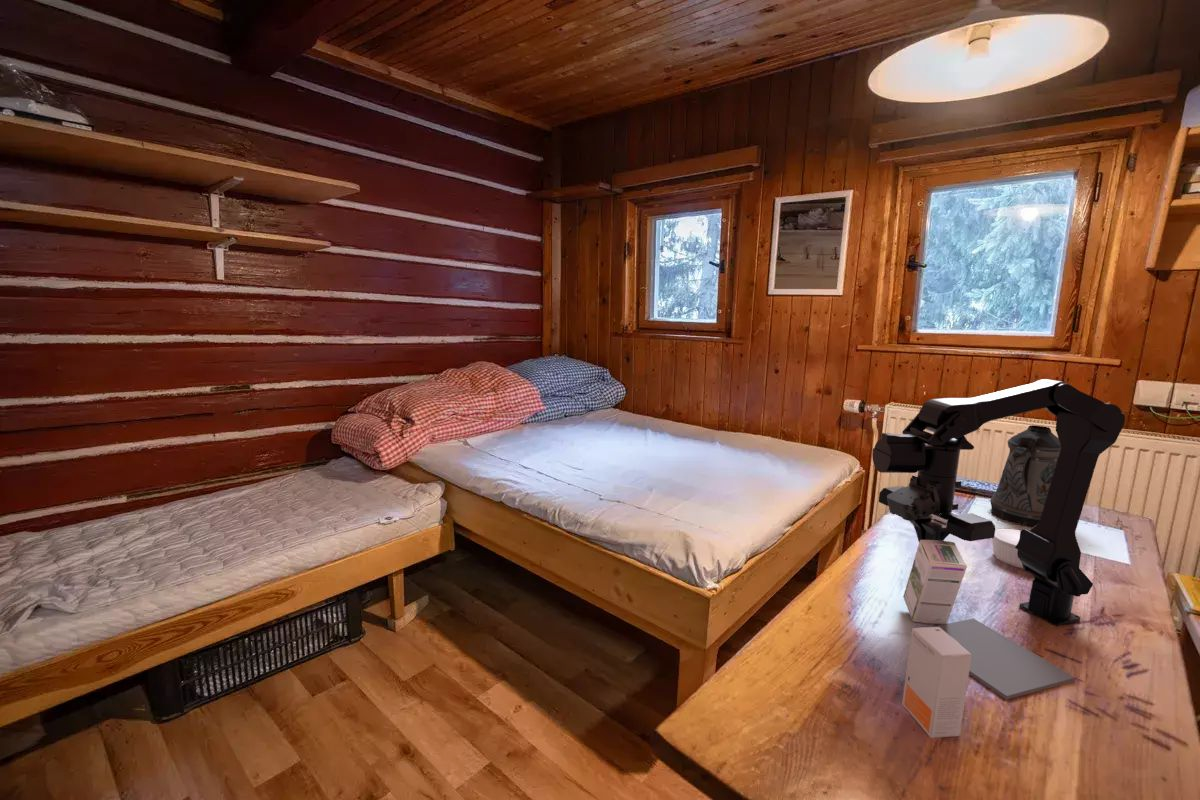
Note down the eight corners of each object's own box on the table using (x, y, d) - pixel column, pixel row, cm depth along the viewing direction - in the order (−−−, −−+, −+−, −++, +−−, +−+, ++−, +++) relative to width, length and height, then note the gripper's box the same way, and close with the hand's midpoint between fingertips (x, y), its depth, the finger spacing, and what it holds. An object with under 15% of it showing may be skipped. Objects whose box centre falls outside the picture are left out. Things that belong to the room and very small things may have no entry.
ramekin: (1063, 566, 116) (1067, 544, 115) (1035, 577, 111) (1039, 553, 110) (1006, 546, 126) (1009, 525, 125) (978, 555, 121) (981, 533, 120)
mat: (972, 621, 95) (973, 618, 95) (1074, 680, 80) (1075, 677, 80) (911, 634, 91) (911, 631, 91) (1006, 699, 76) (1006, 695, 76)
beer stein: (1060, 514, 146) (1075, 425, 142) (1075, 539, 130) (1093, 439, 126) (986, 502, 155) (999, 417, 151) (992, 524, 139) (1006, 430, 135)
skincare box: (900, 705, 74) (910, 626, 72) (929, 703, 75) (939, 625, 73) (930, 739, 69) (942, 655, 66) (961, 738, 69) (974, 654, 67)
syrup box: (947, 626, 93) (970, 566, 86) (910, 622, 94) (930, 562, 87) (936, 599, 98) (956, 541, 91) (901, 596, 99) (919, 538, 92)
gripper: (859, 461, 99) (851, 539, 102) (950, 494, 82) (937, 588, 84) (906, 457, 103) (897, 533, 105) (1004, 488, 85) (990, 579, 88)
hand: (926, 556), depth 96 cm, fingers closed
